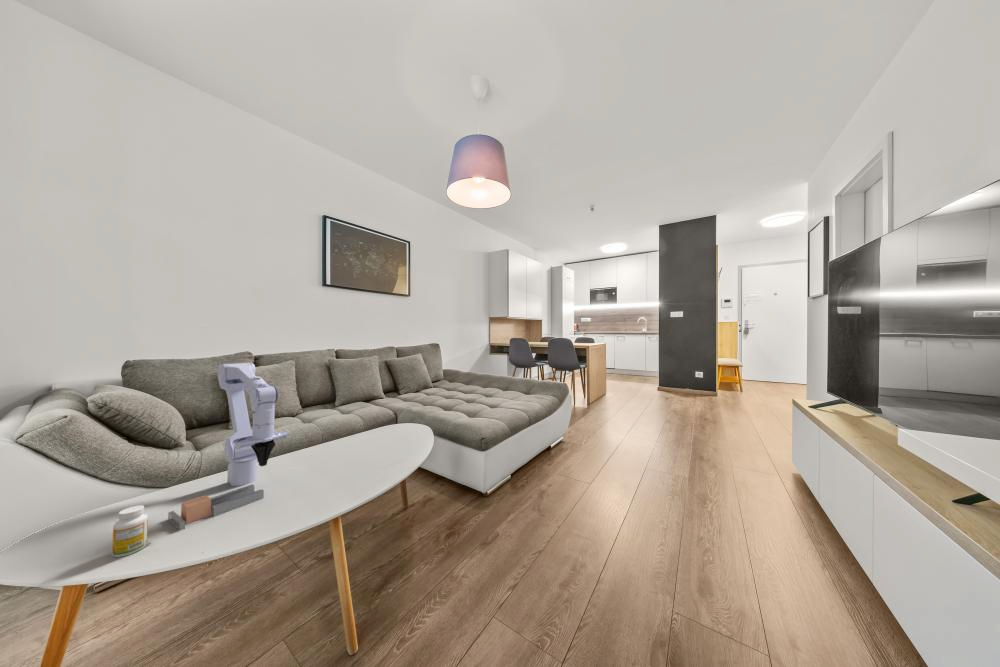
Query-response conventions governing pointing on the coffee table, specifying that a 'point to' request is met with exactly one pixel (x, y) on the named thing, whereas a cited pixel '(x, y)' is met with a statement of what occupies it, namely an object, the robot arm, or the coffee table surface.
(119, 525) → the supplement bottle
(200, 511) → the block
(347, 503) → the coffee table surface
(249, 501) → the chute
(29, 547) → the coffee table surface
